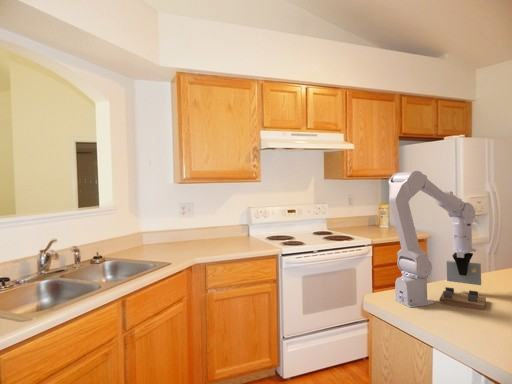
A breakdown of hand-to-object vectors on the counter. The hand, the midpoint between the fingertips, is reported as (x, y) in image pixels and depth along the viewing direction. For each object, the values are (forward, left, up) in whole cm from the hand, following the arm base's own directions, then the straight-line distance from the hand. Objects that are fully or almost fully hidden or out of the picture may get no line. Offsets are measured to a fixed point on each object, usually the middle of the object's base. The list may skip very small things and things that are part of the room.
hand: (463, 274), depth 112 cm
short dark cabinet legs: (-8, -6, -5) cm, 11 cm away
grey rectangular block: (0, 0, -3) cm, 3 cm away
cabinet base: (-8, -6, -7) cm, 12 cm away
